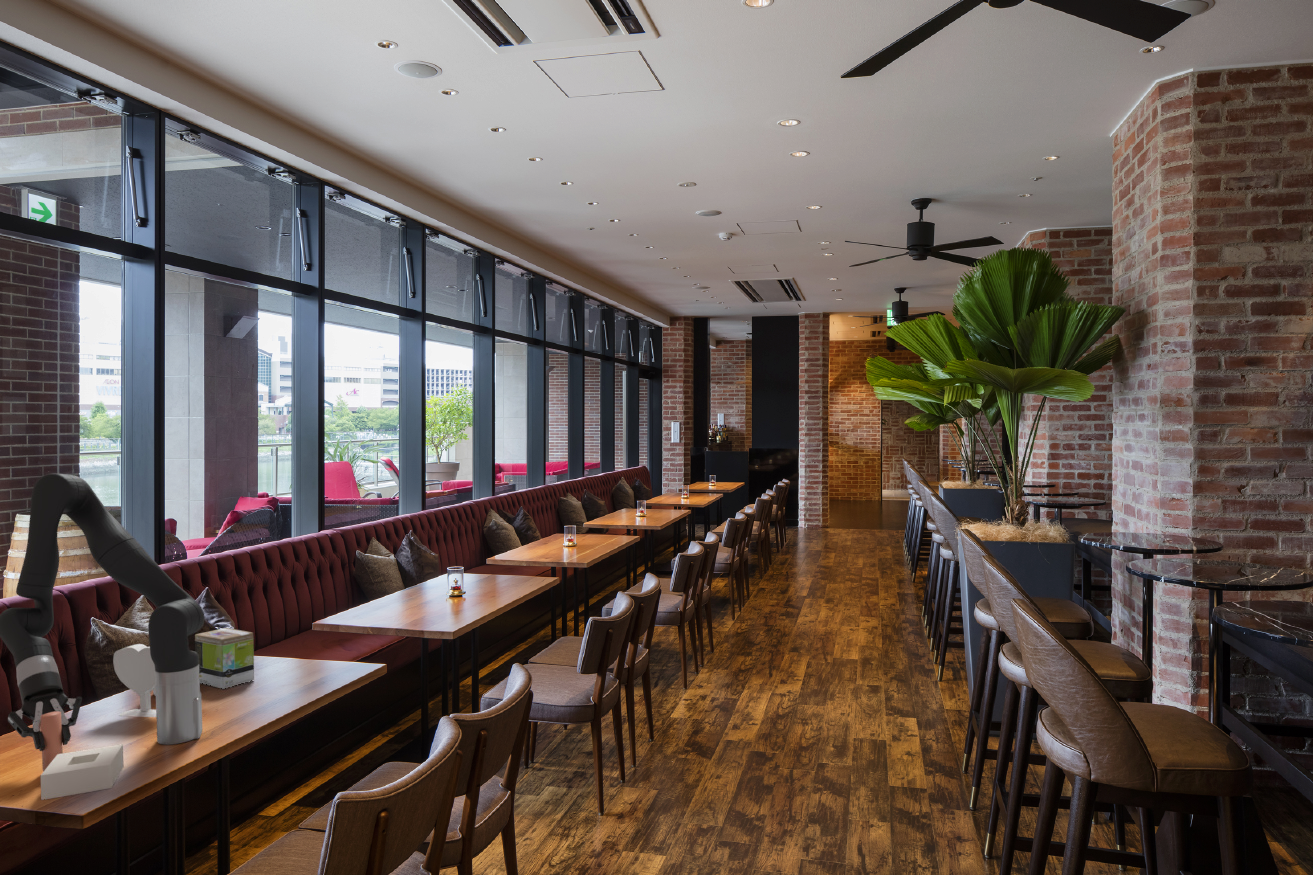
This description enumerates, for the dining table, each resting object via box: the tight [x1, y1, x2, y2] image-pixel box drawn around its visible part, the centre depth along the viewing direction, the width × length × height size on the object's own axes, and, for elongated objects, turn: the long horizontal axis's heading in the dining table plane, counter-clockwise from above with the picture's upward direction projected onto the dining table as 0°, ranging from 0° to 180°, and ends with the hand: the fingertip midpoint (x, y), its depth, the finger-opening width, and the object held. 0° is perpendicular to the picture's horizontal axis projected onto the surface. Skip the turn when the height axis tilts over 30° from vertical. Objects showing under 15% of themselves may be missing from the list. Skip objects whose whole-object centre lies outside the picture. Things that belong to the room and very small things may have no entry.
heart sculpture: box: [112, 643, 156, 718], centre depth 213 cm, size 16×5×18 cm, turn 81°
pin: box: [40, 711, 63, 773], centre depth 176 cm, size 4×4×12 cm
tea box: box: [194, 627, 255, 690], centre depth 239 cm, size 15×10×15 cm, turn 58°
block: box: [40, 743, 124, 801], centre depth 170 cm, size 12×12×5 cm
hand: (54, 745), depth 175 cm, fingers closed on pin, 3 cm apart
